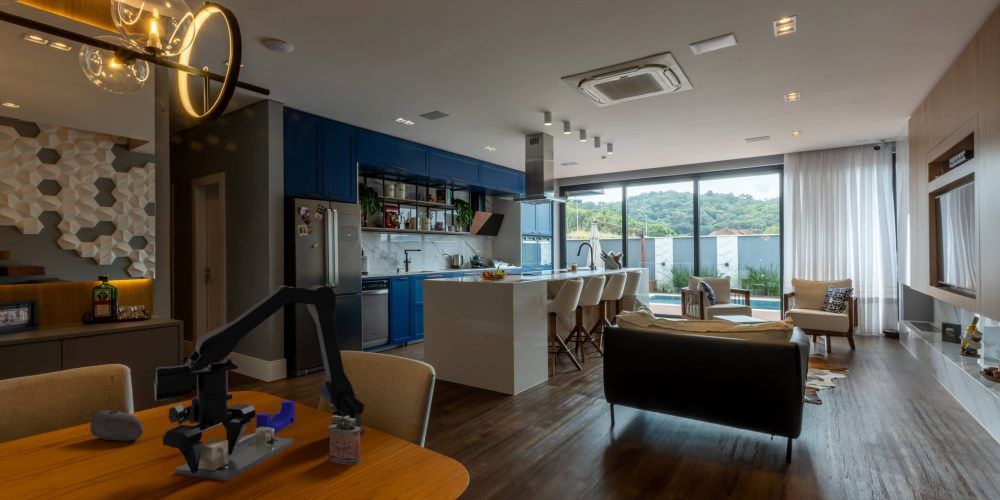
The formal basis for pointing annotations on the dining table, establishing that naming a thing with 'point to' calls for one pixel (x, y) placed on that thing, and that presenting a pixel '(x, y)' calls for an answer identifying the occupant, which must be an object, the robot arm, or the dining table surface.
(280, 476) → the dining table surface
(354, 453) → the lighter
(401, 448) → the dining table surface
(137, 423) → the perforated stone tool
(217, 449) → the block
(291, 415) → the cable clip
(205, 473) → the drilled plate
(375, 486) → the dining table surface
